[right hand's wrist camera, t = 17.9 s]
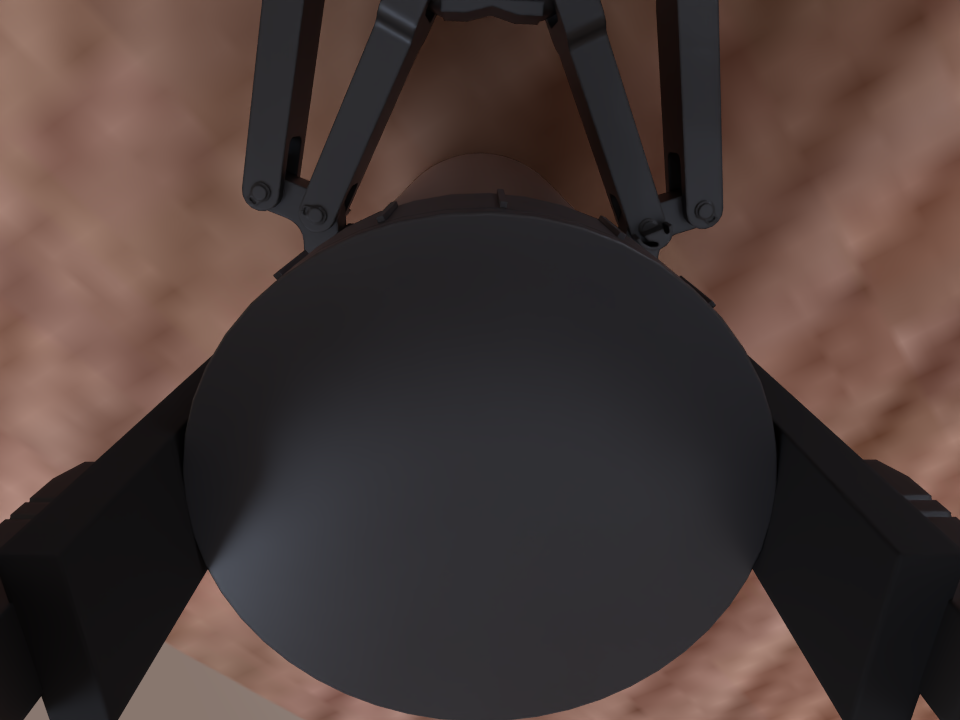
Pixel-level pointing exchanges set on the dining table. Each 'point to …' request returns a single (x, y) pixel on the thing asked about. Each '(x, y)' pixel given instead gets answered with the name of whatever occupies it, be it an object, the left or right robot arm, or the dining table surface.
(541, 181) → the jar
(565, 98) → the dining table surface
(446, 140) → the dining table surface
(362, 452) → the lid
